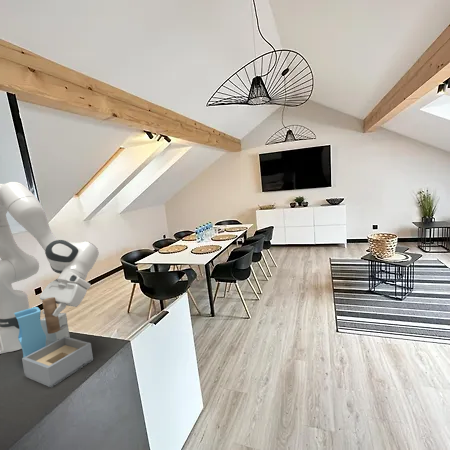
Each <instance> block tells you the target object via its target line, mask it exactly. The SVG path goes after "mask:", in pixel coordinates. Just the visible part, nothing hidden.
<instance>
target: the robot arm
mask: <svg viewBox="0 0 450 450" xmlns="http://www.w3.org/2000/svg"><path fill="white" fill-rule="evenodd" d="M7 213H9V214H10V215H11V217H12V218H13V219H14V220H15V221H16V222H17V223H18V224H19V225H21V226H22V227H23V228H24V229H25V230H26V231H27V232H28V233H29V234H30V235H31V236H32V237H34V238H35V240H36V241H37V242H38V244H39V245H40V247H42V249H43V250H44V252H45V253H44V254H45V257H46V259H47V261H48V264H49V266H50V268H51V270H52V271H53V272H55V273H57V274H59V275H58V278H55V279H54V280H52V281H50V282H49V283H47V285H46V286H45V288H44V289H43V290H42V292H41V294H39V300H41V301H43V300H44V299H47V298H51V297H55V300H56V305H57V304H58V306H57V308H56V310H53V312H52V313H51V315H52V316H55V317H57V316H58V315H59V313H62V311H64V310H65V308H66V307H67V306H68V307H74V308H77V307H78V306H79V305H80V304H82V301H83V300H84V298H85V296H86V294H87V291H88V290H89V289H90V288H91V286H92V285H91V283H90V282H88V281H86V279H87V277H88V274H89V272H90V271H91V270H92V269H93V267H94V265H95V264H96V262H97V259H98V258H99V250H98V248H97V247H96V245H95V244H93V243H91V242H90V241H87V240H86V241H85V240H84V241H79V242H77V241H76V242H74V241H68V240H64V239H58V238H57V237H56V236H55V234H54V233H53V232H52V229H51V228H50V224H49V221H48V219H47V215H46V211H45V209H44V208H43V205H42V204H41V202H40V201H39V199H38V198H37V197H36V196H35V194H33V193H32V191H31V190H30V189H29V188H28V187H26V186H25V185H24V184H22V183H20V182H17V181H9V182H5V183H0V354H1V355H2V354H5V353H11V352H14V351H19V350H22V347H21V344H20V342H19V339H18V336H19V323H18V320H17V318H16V316H15V314H14V313H16V312H19V311H23V310H26V309H30V303H29V302H30V301H29V297H28V294H27V293H26V292H25V291H22V290H18V289H14V287H13V285H12V284H13V283H18V282H21V281H23V280H24V281H25V280H26V279H29V278H31V277H33V276H34V275H36V274H37V273H38V272H39V268H40V263H39V261H38V259H37V257H35V256H33V255H31V254H29V253H26V252H25V251H24V250H23V249H21V248H20V246H18V244H17V242H16V240H15V239H14V236H13V233H12V230H11V228H10V225H9V221H8V219H7ZM42 314H43V315H45V314H44V310H43V311H42Z"/></svg>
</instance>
